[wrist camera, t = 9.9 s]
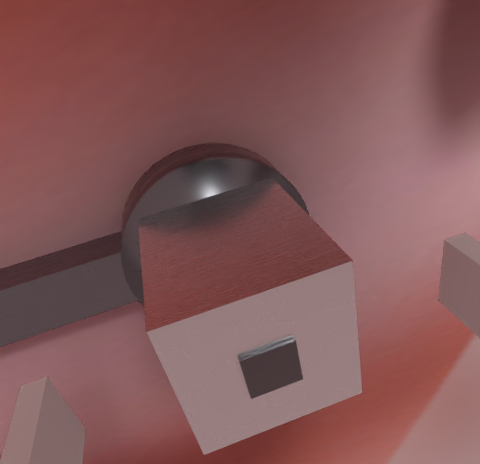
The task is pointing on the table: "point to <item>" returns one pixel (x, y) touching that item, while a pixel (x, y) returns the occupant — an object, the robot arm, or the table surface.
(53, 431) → the robot arm
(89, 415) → the table surface
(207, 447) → the socket
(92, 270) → the ratchet
